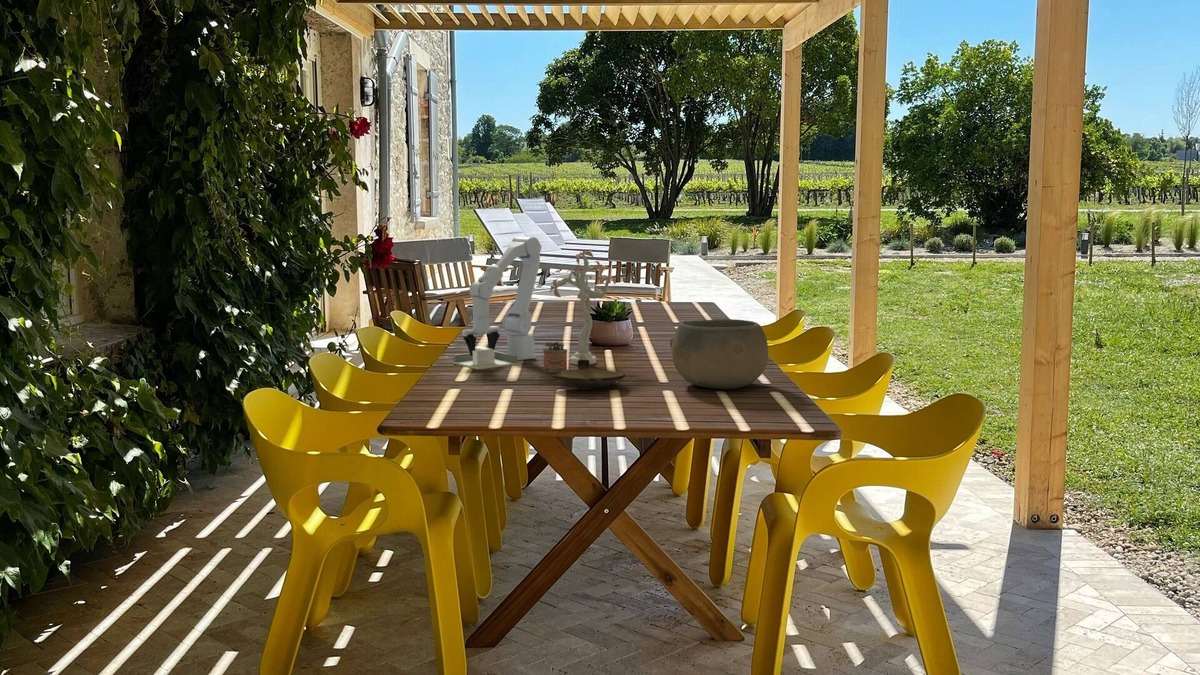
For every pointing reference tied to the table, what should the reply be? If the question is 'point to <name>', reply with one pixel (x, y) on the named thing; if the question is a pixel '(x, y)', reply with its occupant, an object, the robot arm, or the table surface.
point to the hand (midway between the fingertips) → (481, 354)
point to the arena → (500, 360)
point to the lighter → (555, 357)
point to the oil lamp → (587, 376)
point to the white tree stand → (584, 301)
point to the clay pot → (720, 352)
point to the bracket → (483, 356)
